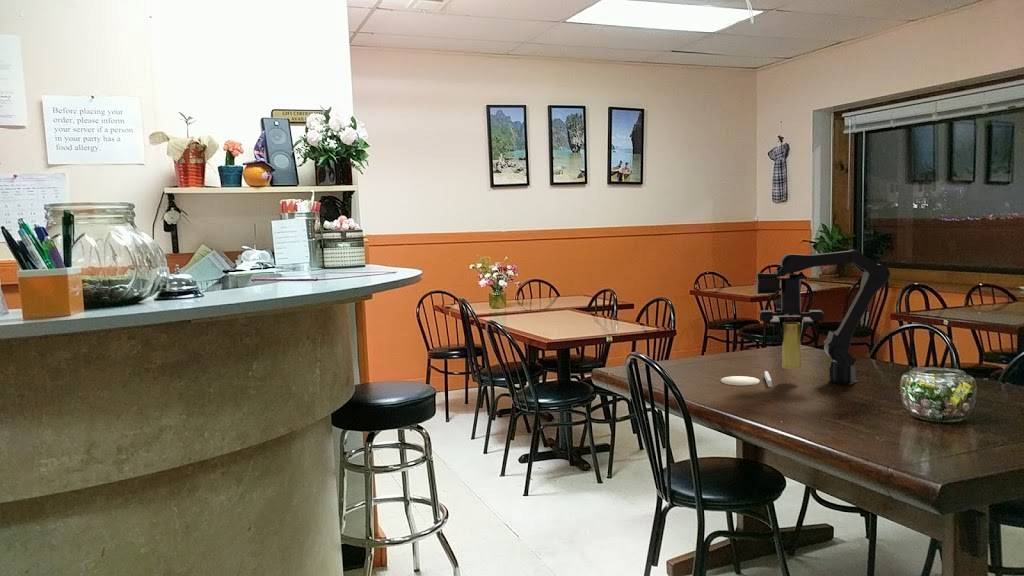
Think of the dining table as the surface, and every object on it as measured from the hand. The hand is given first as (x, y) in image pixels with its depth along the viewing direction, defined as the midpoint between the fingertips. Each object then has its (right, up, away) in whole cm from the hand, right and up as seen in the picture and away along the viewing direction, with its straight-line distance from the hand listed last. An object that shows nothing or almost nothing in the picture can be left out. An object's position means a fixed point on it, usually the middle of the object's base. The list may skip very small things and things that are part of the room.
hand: (791, 342), depth 220 cm
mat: (-15, -13, +5) cm, 20 cm away
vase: (0, -8, +1) cm, 8 cm away
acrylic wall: (-6, -13, +3) cm, 15 cm away
